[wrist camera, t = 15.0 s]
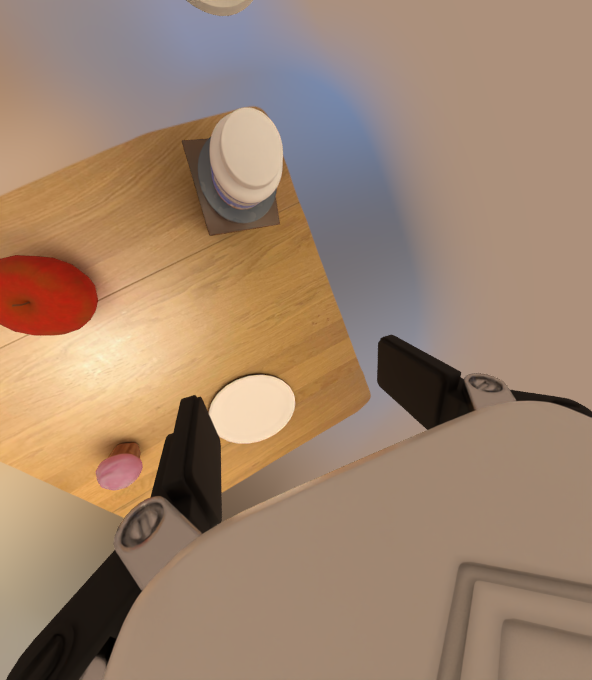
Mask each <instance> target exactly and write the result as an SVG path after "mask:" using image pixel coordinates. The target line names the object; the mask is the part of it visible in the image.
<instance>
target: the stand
mask: <svg viewBox="0 0 592 680" xmlns="http://www.w3.org/2000/svg"><path fill="white" fill-rule="evenodd" d="M207 140H208V139H196V140H182V144H183V147H184V151H185V154H186V157H187V161H188V164H189V167H190V171H191V174H192V178H193V181H194V184H195V188H196V191H197V194H198V198H199V201H200V205H201V208H202V211H203V215H204V218H205V221H206V225H207V228H208V232H209V235H211V236H213V235H219V234H226V233H232V232H238V231H244V230H250V229H256V228H262V227H267V226H273V225H278V224H280V222H279V215H278V209H277V203H276V196H275V199H274V202H273V204H272V206H271V208H270V209H269V211H268V212H267V213H266V214H265V215H264V216H263V217H262V218H260V219H258V220H256V221H254V222H250V223H244V224H236V223H232V222H229V221H227V220H225V219H223V218H222V217H220V216H219V215H218V214H217V213H216V212H215V211H214V210H213V209H212V208H211V206H210V205H209V203H208V202H207V200H206V198H205V196H204V194H203V192H202V189H201V186H200V183H199V178H198V159H199V155H200V152H201V149H202V147H203V145H204V144H205V142H206V141H207Z"/></svg>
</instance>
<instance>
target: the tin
mask: <svg viewBox="0 0 592 680" xmlns="http://www.w3.org/2000/svg"><path fill="white" fill-rule="evenodd" d="M210 140H211V137H210V138H209V139H208V140H207V141H206V142H205V144H204V145H203V147H202V149H201V152H200V155H199V159H198V178H199V183H200V186H201V189H202V192H203V194H204V196H205V198H206V200H207V202H208V203H209V205H210V206H211V208H212V209H213V210H214V211H215V212H216V213H217V214H218V215H219V216H220V217H222V218H223V219H225V220H227V221H229V222H232V223H236V224H244V223H250V222H254V221H256V220H258V219H260V218H262V217H263V216H264V215H265V214H266V213H267V212H268V211H269V209H270V208H271V206H272V204H273V202H274V199H275V196H276V190H277V188H276V189H275V191H274V192H273V193H272V194H271V195H270V196H269V197H268V198H266V199H265V200H263V201H262V202H260V203H259V204H257V205H256V206H254V207H252V208H249V209H236V208H234V207H232V206H230V205H228V204H227V203H226V202H225V201H224V200H223V199H222V198H221V197H220V196H219V194H218V193H217V191H216V189H215V187H214V184H213V181H212V175H211V163H210Z"/></svg>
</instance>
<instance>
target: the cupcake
mask: <svg viewBox="0 0 592 680" xmlns="http://www.w3.org/2000/svg"><path fill="white" fill-rule="evenodd" d="M141 471H142V462H141V460H140V450H139V446H138V445H137V444H136V443H123V444H118V445H117V446H116V447H115V448H114V450H113V451H112V453H111V454H110V456H109V457H108V458H107V459H105V460H104V461H102V462H101V463H100V464H99V466H98V468H97V470H96V476H97V481H98V483H99V484H100V486H101V487H102V488H105V489H109V490H119V489H123V488H125V487H127V486H129V485H130V484H132V483H133V482H134V481H135V480H136V479H137V478H138V477H139V475H140V473H141Z"/></svg>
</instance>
